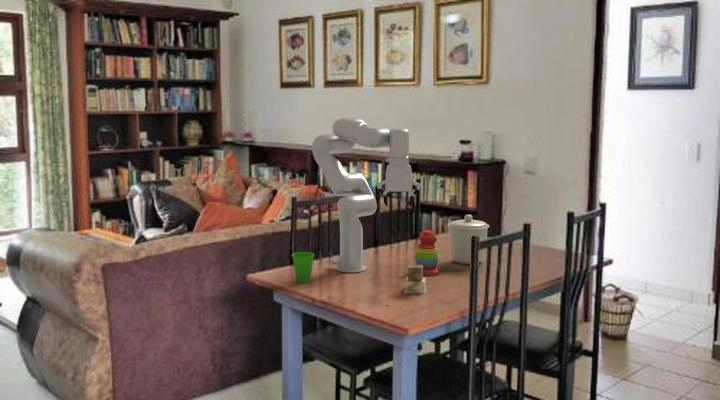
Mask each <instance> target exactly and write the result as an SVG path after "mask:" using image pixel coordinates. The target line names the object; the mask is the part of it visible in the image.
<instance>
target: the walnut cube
mask: <svg viewBox="0 0 720 400" xmlns="http://www.w3.org/2000/svg"><path fill="white" fill-rule="evenodd" d="M407 277H408V281H421V282H422V279H423V277H424V275H423V265H416V264H408V267H407Z"/></svg>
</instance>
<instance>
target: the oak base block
mask: <svg viewBox="0 0 720 400" xmlns="http://www.w3.org/2000/svg"><path fill="white" fill-rule="evenodd" d="M426 279H427V278H426V277H425V276H423V279H422V282H421V281H408V276H407V277H406V278H405V281H404V290H405V292H411V293H410V294H423V293H424V292H425V288H427V287H426V284H427V283H426V282H427V280H426Z"/></svg>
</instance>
